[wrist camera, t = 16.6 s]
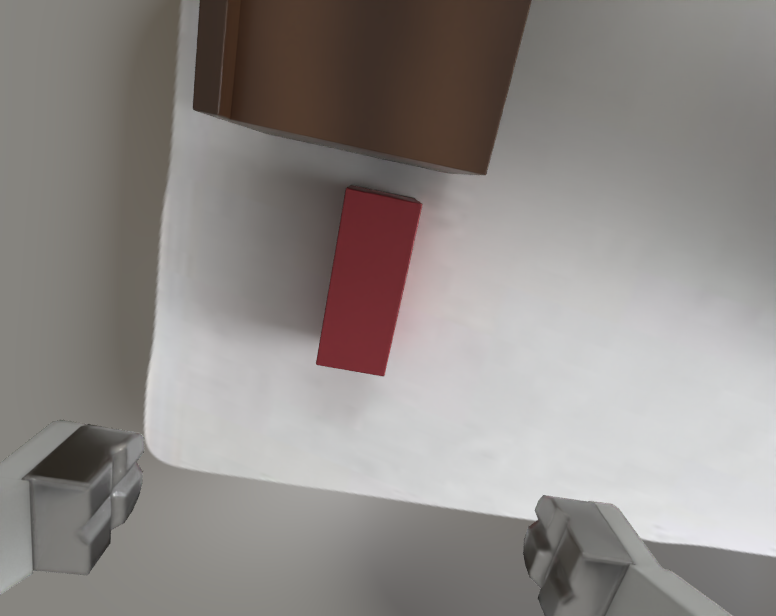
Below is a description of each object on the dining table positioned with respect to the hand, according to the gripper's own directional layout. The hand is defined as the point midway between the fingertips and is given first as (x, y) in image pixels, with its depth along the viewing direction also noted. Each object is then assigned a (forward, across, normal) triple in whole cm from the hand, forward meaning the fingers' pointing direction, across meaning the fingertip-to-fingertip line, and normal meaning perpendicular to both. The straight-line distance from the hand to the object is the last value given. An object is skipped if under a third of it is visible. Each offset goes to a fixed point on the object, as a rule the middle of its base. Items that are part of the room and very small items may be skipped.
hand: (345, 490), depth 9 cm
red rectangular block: (+22, 0, +1) cm, 22 cm away
